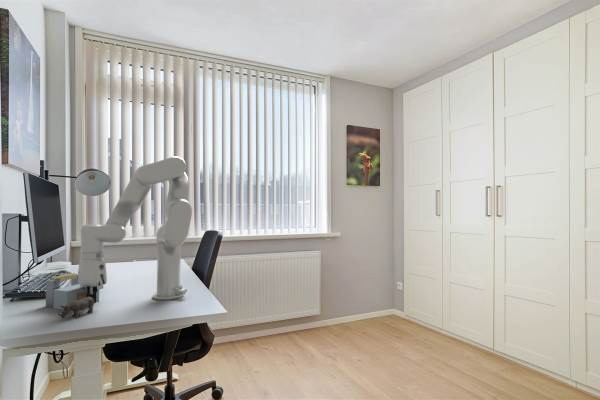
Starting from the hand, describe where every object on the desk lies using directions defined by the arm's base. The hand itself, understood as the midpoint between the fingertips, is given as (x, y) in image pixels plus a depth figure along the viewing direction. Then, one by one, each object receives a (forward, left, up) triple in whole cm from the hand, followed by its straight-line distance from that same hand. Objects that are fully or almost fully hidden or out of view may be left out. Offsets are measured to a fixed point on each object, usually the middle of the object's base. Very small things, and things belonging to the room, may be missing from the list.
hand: (91, 303), depth 137 cm
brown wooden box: (+9, -1, -1) cm, 9 cm away
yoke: (+14, 0, -1) cm, 14 cm away
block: (+8, 0, -1) cm, 8 cm away
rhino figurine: (-6, +11, -2) cm, 12 cm away
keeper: (+14, 0, +8) cm, 16 cm away
